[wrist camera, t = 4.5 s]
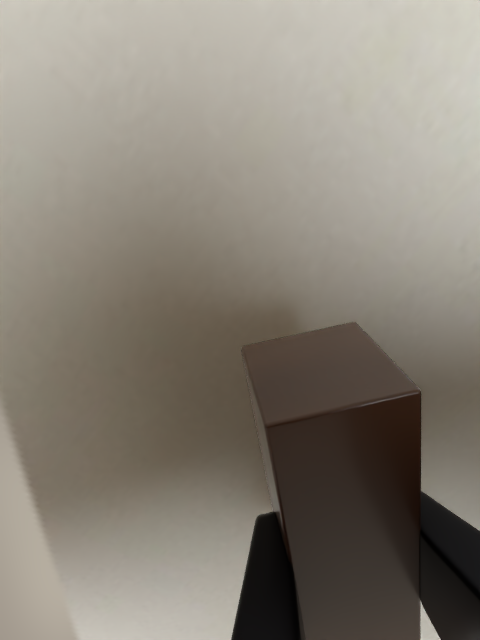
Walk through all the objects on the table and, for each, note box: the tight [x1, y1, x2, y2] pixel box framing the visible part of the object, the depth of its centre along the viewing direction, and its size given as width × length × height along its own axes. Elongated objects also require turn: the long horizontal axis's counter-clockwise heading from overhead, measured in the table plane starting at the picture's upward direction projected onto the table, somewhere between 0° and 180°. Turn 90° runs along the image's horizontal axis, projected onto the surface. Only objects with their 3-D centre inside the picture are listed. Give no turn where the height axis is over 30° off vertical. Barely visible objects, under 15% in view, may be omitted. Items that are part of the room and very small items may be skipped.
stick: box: [241, 322, 421, 640], centre depth 8 cm, size 7×2×2 cm, turn 10°
